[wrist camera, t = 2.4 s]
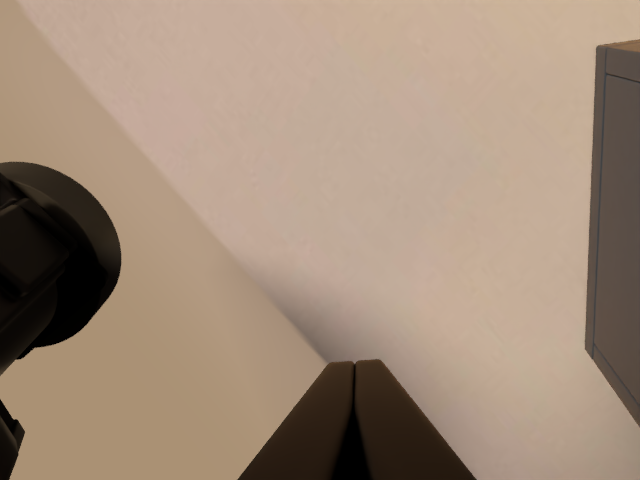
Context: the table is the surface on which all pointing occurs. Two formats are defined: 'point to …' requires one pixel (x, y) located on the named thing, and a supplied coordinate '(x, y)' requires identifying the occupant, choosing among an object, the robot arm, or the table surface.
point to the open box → (616, 223)
